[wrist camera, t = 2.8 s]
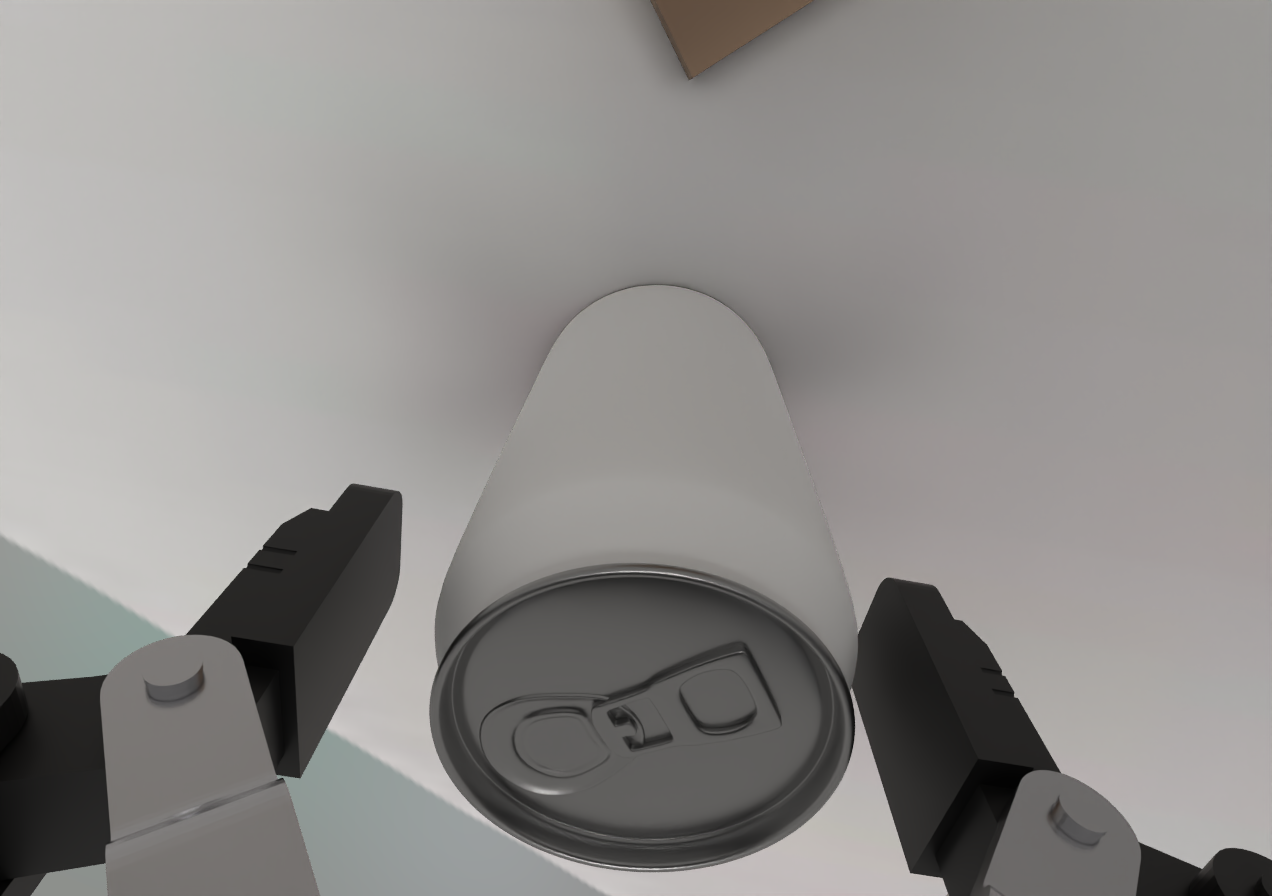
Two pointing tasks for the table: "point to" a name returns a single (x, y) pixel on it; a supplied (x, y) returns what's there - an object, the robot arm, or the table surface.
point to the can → (648, 603)
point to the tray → (717, 26)
